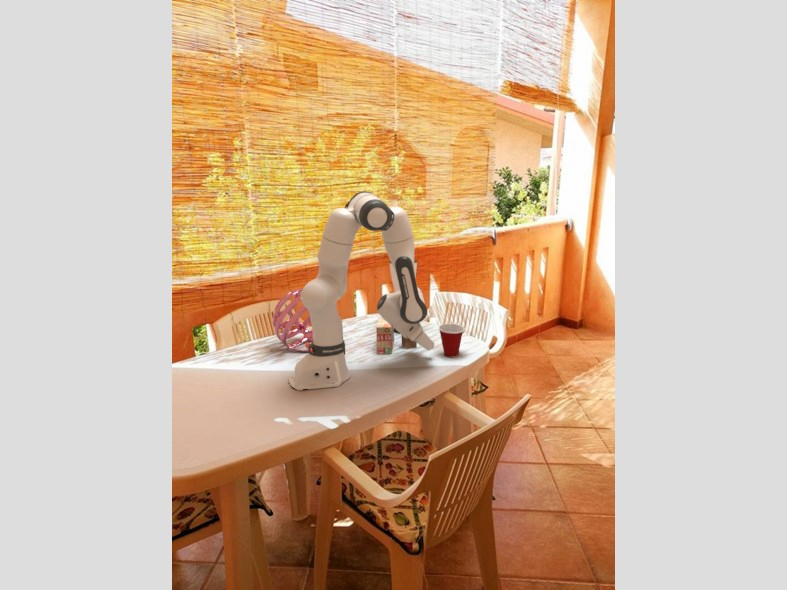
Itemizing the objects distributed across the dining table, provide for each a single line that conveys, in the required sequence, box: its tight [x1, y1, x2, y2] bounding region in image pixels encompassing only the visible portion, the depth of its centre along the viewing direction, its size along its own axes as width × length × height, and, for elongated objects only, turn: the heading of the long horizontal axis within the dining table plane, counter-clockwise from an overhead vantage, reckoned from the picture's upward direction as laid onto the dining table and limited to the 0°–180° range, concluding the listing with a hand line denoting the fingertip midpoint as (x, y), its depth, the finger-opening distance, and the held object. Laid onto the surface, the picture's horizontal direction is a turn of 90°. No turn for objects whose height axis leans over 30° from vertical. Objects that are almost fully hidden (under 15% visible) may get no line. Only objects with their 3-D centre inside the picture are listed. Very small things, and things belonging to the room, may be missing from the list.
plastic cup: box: [437, 323, 466, 357], centre depth 202 cm, size 11×11×12 cm
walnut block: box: [400, 334, 418, 350], centre depth 214 cm, size 5×5×9 cm
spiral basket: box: [272, 287, 313, 353], centre depth 215 cm, size 28×28×27 cm
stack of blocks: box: [375, 318, 395, 355], centre depth 216 cm, size 21×6×12 cm, turn 178°
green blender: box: [388, 258, 418, 335], centre depth 236 cm, size 19×13×35 cm
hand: (431, 346), depth 199 cm, fingers closed
